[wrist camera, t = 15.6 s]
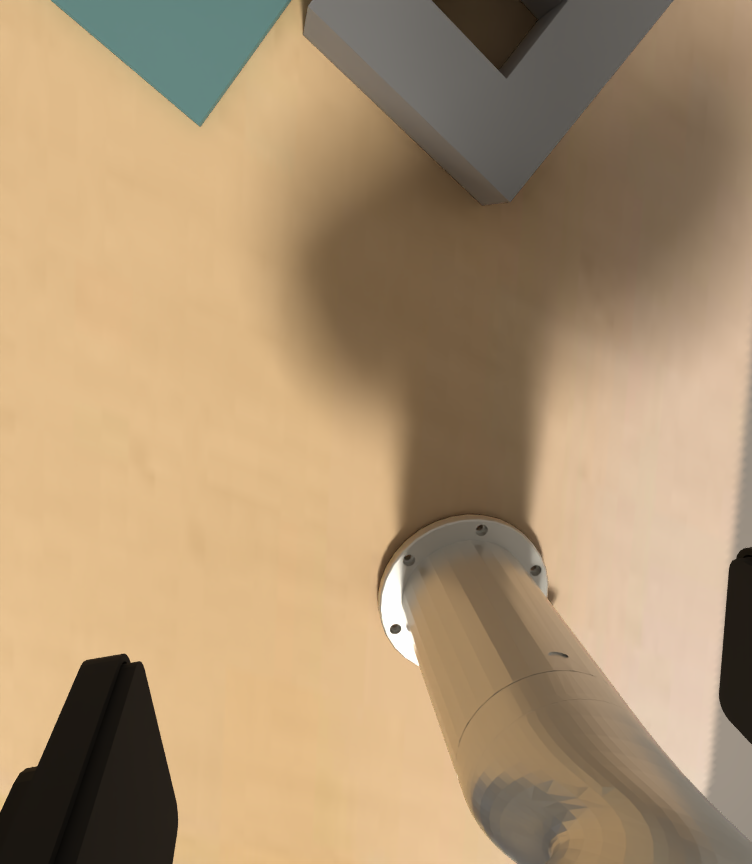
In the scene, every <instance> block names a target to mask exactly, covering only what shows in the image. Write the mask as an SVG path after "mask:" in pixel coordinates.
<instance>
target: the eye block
mask: <svg viewBox="0 0 752 864" xmlns="http://www.w3.org/2000/svg"><path fill="white" fill-rule="evenodd" d="M521 1H522V2H523V4H524V5H525V6H526V7H527V8H528V9H529V10H530V11H531V12H532V14H533V15H534V16H535V17H536V18H537V19H538V21H537V22H536V23H535V25H534V26H533V27H532V29H531V30H530V31H529V32H528V34H527V35H526V36H525V38H524V39H523V40H522V41H521V43H520V44H519V45H518V47H517V48H516V49H515V50H514V52H513V53H512V54H511V55H510V57H509V58H508V59H507V61H506V62H505V63H504V64H503V66H502V67H501V68H500V70H498V69H497V68H496V67H495V66H494V65H493V64H492V63H491V62H490V61H489V60H488V59H487V58H486V57H485V56H484V55H483V54H482V53H481V52H480V51H479V50H478V48H477V47H476V46H475V45H474V44H473V43H472V42H471V41H470V40H469V39H468V38H467V37H466V36H465V35H464V34H463V33H462V32H461V31H460V30H459V29H458V28H457V26H456V25H455V24H454V23H453V22H452V21H451V20H450V19H449V18H448V17H447V16H446V15H445V14H444V13H443V12H442V11H441V10H440V9H439V8H438V7H437V6H436V4H435V3H434V2H433V1H432V0H312V1H311V3H310V4H309V5H308V9H307V15H306V20H305V26H304V32H303V35H304V36H305V37H306V38H307V39H308V40H309V41H310V42H311V43H312V44H313V45H314V46H315V47H316V48H317V49H318V50H319V51H320V52H322V53H323V54H324V55H325V56H326V57H327V58H328V59H329V60H330V61H331V62H332V63H333V64H334V65H335V66H336V67H337V68H338V69H339V70H340V71H341V72H343V73H344V74H345V75H346V76H347V77H348V78H349V79H350V80H351V81H352V82H353V83H354V84H355V85H356V86H357V87H358V88H359V89H360V90H361V91H363V92H364V93H365V94H366V95H367V96H368V97H369V98H370V99H371V100H372V101H373V102H374V103H375V104H376V105H377V106H378V107H379V108H380V109H381V110H383V111H384V112H385V113H386V114H387V115H388V116H389V117H390V118H391V119H392V120H393V121H394V122H395V123H396V124H397V125H398V126H399V127H400V128H401V129H403V130H404V131H405V132H406V133H407V134H408V135H409V136H410V137H411V138H412V139H413V140H414V141H415V142H416V143H417V144H418V145H419V146H420V147H421V148H422V149H424V150H425V151H426V152H427V153H428V154H429V155H430V156H431V157H432V158H433V159H434V160H435V161H436V162H437V163H438V164H439V165H440V166H441V167H442V168H444V169H445V170H446V171H447V172H448V173H449V174H450V175H451V176H452V177H453V178H454V179H455V180H456V181H457V182H458V183H459V184H460V185H461V186H462V187H464V188H465V189H466V190H467V191H468V192H469V193H470V194H471V195H472V196H473V197H474V198H475V199H476V200H477V201H478V202H479V203H480V204H481V205H490V204H499V203H508V202H511V201H512V199H513V198H514V197H515V196H516V194H517V193H518V192H519V191H520V189H521V188H522V187H523V186H524V185H525V183H526V182H527V181H528V180H529V178H530V177H531V176H532V175H533V173H534V172H535V171H536V170H537V168H538V167H539V166H540V165H541V164H542V162H543V161H544V160H545V159H546V157H547V156H548V155H549V154H550V152H551V151H552V150H553V149H554V147H555V146H556V145H557V144H558V143H559V141H560V140H561V139H562V138H563V136H564V135H565V134H566V133H567V131H568V130H569V129H570V128H571V126H572V125H573V124H574V123H575V122H576V120H577V119H578V118H579V117H580V115H581V114H582V113H583V112H584V110H585V109H586V108H587V107H588V105H589V104H590V103H591V102H592V101H593V99H594V98H595V97H596V96H597V94H598V93H599V92H600V91H601V89H602V88H603V87H604V86H605V84H606V83H607V82H608V81H609V79H610V78H611V77H612V76H613V75H614V73H615V72H616V71H617V70H618V68H619V67H620V66H621V65H622V63H623V62H624V61H625V60H626V58H627V57H628V56H629V55H630V54H631V52H632V51H633V50H634V49H635V47H636V46H637V45H638V44H639V42H640V41H641V40H642V39H643V37H644V36H645V35H646V34H647V33H648V31H649V30H650V29H651V28H652V26H653V25H654V24H655V23H656V21H657V20H658V19H659V18H660V16H661V15H662V14H663V13H664V12H665V10H666V9H667V8H668V7H669V5H670V4H671V3H672V2H673V0H521Z"/></svg>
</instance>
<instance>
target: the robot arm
mask: <svg viewBox="0 0 752 864" xmlns="http://www.w3.org/2000/svg"><path fill="white" fill-rule="evenodd" d="M479 525H481V526H480V527H479V528H477V527H478V526H479ZM407 555H409V556H408V557H405V556H407ZM547 596H548V578H547V571H546V567H545V565H544V562H543V559H542V557H541V555H540V553H539V552H538V550H537V549H536V547H535V546H534V544H533V543H532V542H531V541H530V540H529V539H528V538H527V537H526V535H525V534H524V533H522V532H521V531H520V530H518V529H517V528H516V527H514V526H513V525H511V524H509V523H507V522H505V521H503V520H500V519H497V518H493V517H489V516H485V515H469V514H468V515H460V516H452V517H449V518H446V519H442V520H439V521H436V522H434V523H432V524H430V525H428V526H426V527H424V528H422V529H420V530H419V531H418V532H416V533H415V534H414V535H412V536H411V537H410V538H408V539H407V540H406V541H405V542H404V543H403V544H402V545H401V546H400V548H399V549H398V550H397V551H396V552H395V553H394V555H393V556H392V558H391V560H390V561H389V563H388V564H387V566H386V568H385V571H384V573H383V576H382V578H381V582H380V587H379V593H378V609H379V613H380V618H381V622H382V625H383V628H384V631H385V634H386V636H387V637H388V639H389V640H390V642H391V643H392V645H393V647H394V648H395V649H396V650H397V651H398V652H399V653H400V654H401V655H402V656H403V657H404V658H406V659H408V660H409V661H411V662H412V663H414V664H416V665H418V666H419V667H420V670H421V672H422V675H423V678H424V681H425V684H426V687H427V690H428V693H429V696H430V699H431V702H432V705H433V708H434V711H435V713H436V716H437V719H438V722H439V725H440V728H441V731H442V734H443V737H444V740H445V743H446V746H447V749H448V752H449V754H450V757H451V760H452V763H453V766H454V769H455V771H456V774H457V777H458V780H459V783H460V786H461V789H462V792H463V795H464V797H465V800H466V802H467V805H468V807H469V809H470V811H471V813H472V815H473V817H474V818H475V820H476V821H477V823H478V825H479V826H480V828H481V829H482V831H483V832H484V833H485V835H486V836H487V837H488V838H489V839H490V840H491V841H492V842H493V843H494V844H495V845H496V846H497V848H498V849H500V850H501V851H502V852H503V853H504V854H505V855H507V856H508V857H509V858H511V859H512V860H513V861H514V862H516V863H517V864H752V842H751V841H750V840H749V839H748V838H747V837H746V836H745V835H744V834H743V833H742V832H741V831H740V830H739V829H738V828H737V827H736V826H735V825H734V824H732V822H730V821H729V820H728V819H727V818H726V817H725V816H724V815H723V814H722V813H721V812H720V811H719V810H718V809H717V808H716V807H715V806H714V805H713V804H712V803H711V802H710V801H709V800H708V799H707V798H706V797H705V796H704V795H703V794H702V793H701V792H700V791H699V790H698V789H697V788H696V787H695V786H694V785H693V784H692V783H691V782H690V780H689V779H688V778H687V777H686V776H685V775H684V774H683V773H682V772H681V771H680V769H679V768H678V767H677V766H676V765H675V764H674V762H673V761H672V760H671V759H670V758H669V757H668V755H667V754H666V753H665V752H664V751H663V750H662V748H661V747H660V746H659V745H658V744H657V742H656V741H655V740H654V738H653V737H652V736H651V735H650V733H649V732H648V731H647V730H646V728H645V727H644V726H643V725H642V723H641V722H640V721H639V719H638V718H637V717H636V715H635V714H634V713H633V711H632V710H631V709H630V708H629V706H628V705H627V704H626V702H625V701H624V700H623V698H622V697H621V696H620V694H619V693H618V691H617V690H616V689H615V687H614V686H613V685H612V684H611V682H610V681H609V680H608V678H607V677H606V676H605V674H604V673H603V672H602V670H601V669H600V668H599V666H598V665H597V664H596V662H595V661H594V660H593V658H592V657H591V656H590V654H589V653H588V652H587V650H586V649H585V648H584V646H583V645H582V644H581V642H580V641H579V640H578V638H577V637H576V636H575V634H574V633H573V632H572V631H571V629H570V628H569V627H568V625H567V624H566V623H565V621H564V620H563V619H562V617H561V616H560V615H559V613H558V612H557V611H556V609H555V608H554V607H553V605H552V604H551V603H550V601H549V600H548V599H547ZM719 700H720V704H721V707H722V710H723V712H724V713H725V715H726V717H727V718H728V719H729V721H730V722H731V723H732V724H733V725H734V726H735V727H736V728H737V729H738V730H739V731H740V732H741V733H742V735H743V736H744V737H745V738H746V739H747V740H748V741H749V742H750V743H751V744H752V547H750V548H745V549H743V550H741V551H740V552H739V553H738V555H737V558H736V559H735V560H733V561H732V562H731V564H730V567H729V576H728V589H727V601H726V614H725V626H724V639H723V651H722V663H721V676H720V688H719ZM177 829H178V811H177V803H176V798H175V794H174V790H173V786H172V782H171V777H170V773H169V769H168V765H167V761H166V757H165V752H164V748H163V744H162V740H161V736H160V732H159V727H158V723H157V719H156V715H155V711H154V707H153V702H152V698H151V694H150V690H149V686H148V682H147V677H146V673H145V669H144V666H143V664H142V662H140V661H139V662H133V663H130V659H129V658H128V656H127V655H126V654H119V655H113V656H108V657H102V658H96V659H90V660H86V661H84V662H83V663H82V665H81V667H80V669H79V671H78V674H77V676H76V678H75V681H74V683H73V685H72V687H71V690H70V692H69V694H68V697H67V699H66V701H65V704H64V706H63V708H62V711H61V713H60V715H59V718H58V720H57V722H56V725H55V727H54V729H53V731H52V734H51V736H50V738H49V741H48V743H47V745H46V748H45V750H44V752H43V755H42V757H41V759H40V762H39V764H38V766H37V767H31V768H26V769H25V770H24V771H22V772H21V773H20V774H19V776H18V777H17V779H16V780H15V782H14V784H13V786H12V788H11V790H10V792H9V795H8V797H7V799H6V801H5V803H4V805H3V808H2V810H1V812H0V864H172V863H173V857H174V850H175V843H176V837H177Z"/></svg>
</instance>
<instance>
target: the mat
mask: <svg viewBox="0 0 752 864" xmlns="http://www.w3.org/2000/svg"><path fill="white" fill-rule="evenodd" d="M51 1H52V2H53V3H55V4H56V5H57V6H58V7H59V8H60V9H62V10H63V11H64V12H65V13H66V14H67V15H69V16H70V17H71V18H72V19H73V20H75V21H76V22H77V23H78V24H79V25H80V26H82V27H83V28H84V29H85V30H86V31H88V32H89V33H90V34H91V35H92V36H93V37H95V38H96V39H97V40H98V41H99V42H101V43H102V44H103V45H104V46H105V47H106V48H108V49H109V50H110V51H111V52H112V53H113V54H115V55H116V56H117V57H118V58H119V59H121V60H122V61H123V62H124V63H125V64H126V65H128V66H129V67H130V68H131V69H132V70H134V71H135V72H136V73H137V74H138V75H139V76H141V77H142V78H143V79H144V80H145V81H147V82H148V83H149V84H150V85H151V86H152V87H154V88H155V89H156V90H157V91H158V92H159V93H161V94H162V95H163V96H164V97H165V98H167V99H168V100H169V101H170V102H171V103H172V104H174V105H175V106H176V107H177V108H178V109H180V110H181V111H182V112H183V113H184V114H185V115H187V116H188V117H189V118H190V119H191V120H192V121H194V122H195V123H196V124H197V125H198V126H200V127H201V125H202V124H203V123H204V121H205V120H206V118H207V117H208V116H209V114H210V113H211V111H212V110H213V109H214V107H215V106H216V104H217V103H218V102H219V100H220V99H221V97H222V96H223V95H224V93H225V92H226V91H227V89H228V88H229V86H230V85H231V84H232V82H233V81H234V79H235V78H236V77H237V75H238V74H239V72H240V71H241V70H242V68H243V67H244V66H245V64H246V63H247V61H248V60H249V59H250V57H251V56H252V54H253V53H254V52H255V50H256V49H257V47H258V46H259V45H260V43H261V42H262V40H263V39H264V38H265V36H266V35H267V34H268V32H269V31H270V29H271V28H272V27H273V25H274V24H275V22H276V21H277V20H278V18H279V17H280V15H281V14H282V13H283V11H284V10H285V8H286V7H287V6H288V4H289V3H290V2H291V0H51Z"/></svg>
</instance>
